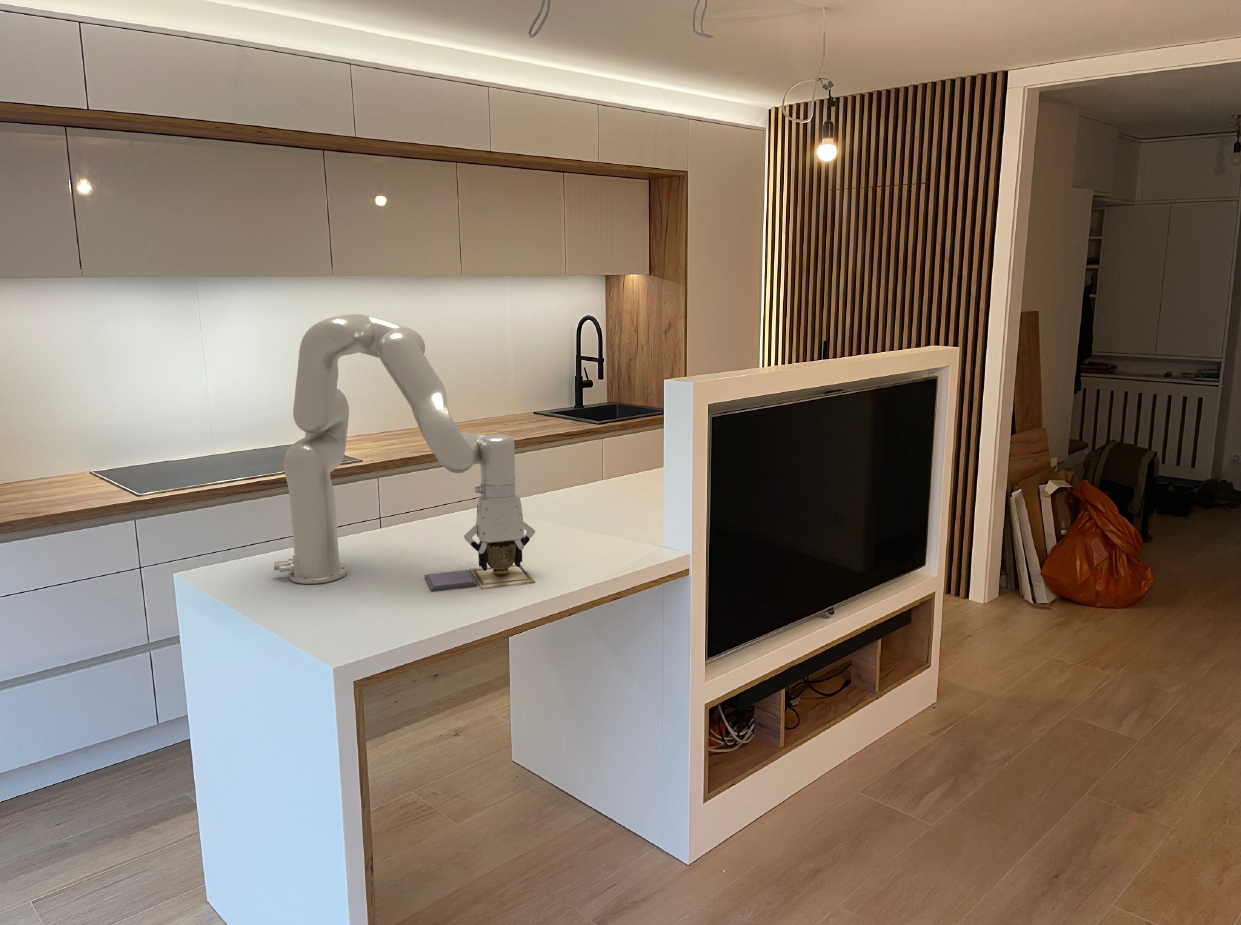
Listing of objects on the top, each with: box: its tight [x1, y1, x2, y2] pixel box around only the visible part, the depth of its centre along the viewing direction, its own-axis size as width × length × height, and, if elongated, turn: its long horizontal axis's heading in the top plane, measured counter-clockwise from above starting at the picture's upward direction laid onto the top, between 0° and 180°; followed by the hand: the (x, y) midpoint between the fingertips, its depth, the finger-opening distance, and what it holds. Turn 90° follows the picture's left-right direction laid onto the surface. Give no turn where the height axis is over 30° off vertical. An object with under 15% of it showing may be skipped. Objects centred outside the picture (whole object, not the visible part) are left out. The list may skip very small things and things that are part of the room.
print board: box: [468, 562, 536, 590], centre depth 210 cm, size 12×14×1 cm
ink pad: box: [424, 569, 478, 593], centre depth 206 cm, size 10×10×1 cm
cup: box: [485, 541, 516, 576], centre depth 209 cm, size 8×7×8 cm
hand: (500, 566), depth 210 cm, fingers closed on cup, 7 cm apart
